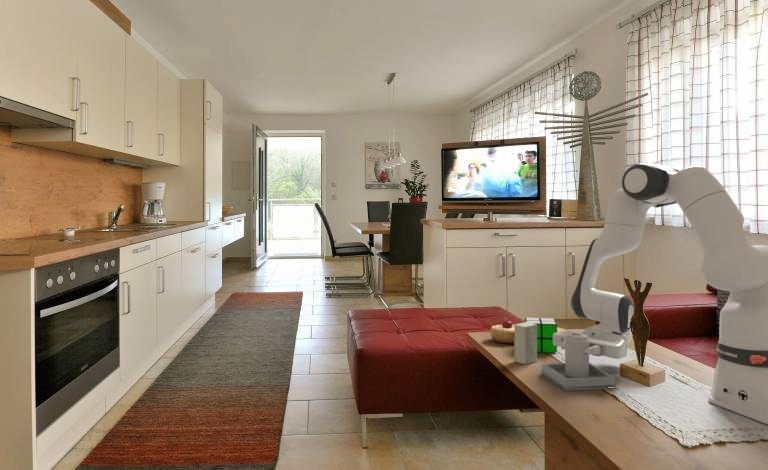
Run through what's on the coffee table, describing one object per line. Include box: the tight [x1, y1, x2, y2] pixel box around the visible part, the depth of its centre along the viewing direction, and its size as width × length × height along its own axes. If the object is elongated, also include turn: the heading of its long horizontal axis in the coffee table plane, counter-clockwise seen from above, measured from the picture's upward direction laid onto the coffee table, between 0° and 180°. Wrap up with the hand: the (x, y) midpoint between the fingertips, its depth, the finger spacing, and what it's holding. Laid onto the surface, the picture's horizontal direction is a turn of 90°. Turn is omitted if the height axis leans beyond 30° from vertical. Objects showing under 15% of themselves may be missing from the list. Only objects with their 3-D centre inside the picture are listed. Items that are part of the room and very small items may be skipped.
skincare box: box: [513, 321, 538, 365], centre depth 162 cm, size 6×4×12 cm
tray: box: [541, 362, 616, 392], centre depth 143 cm, size 14×14×3 cm
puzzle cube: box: [524, 317, 558, 354], centre depth 177 cm, size 10×10×10 cm
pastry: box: [490, 316, 515, 344], centre depth 188 cm, size 12×12×9 cm
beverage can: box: [564, 332, 590, 378], centre depth 143 cm, size 6×6×12 cm
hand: (574, 348), depth 142 cm, fingers open, 6 cm apart
